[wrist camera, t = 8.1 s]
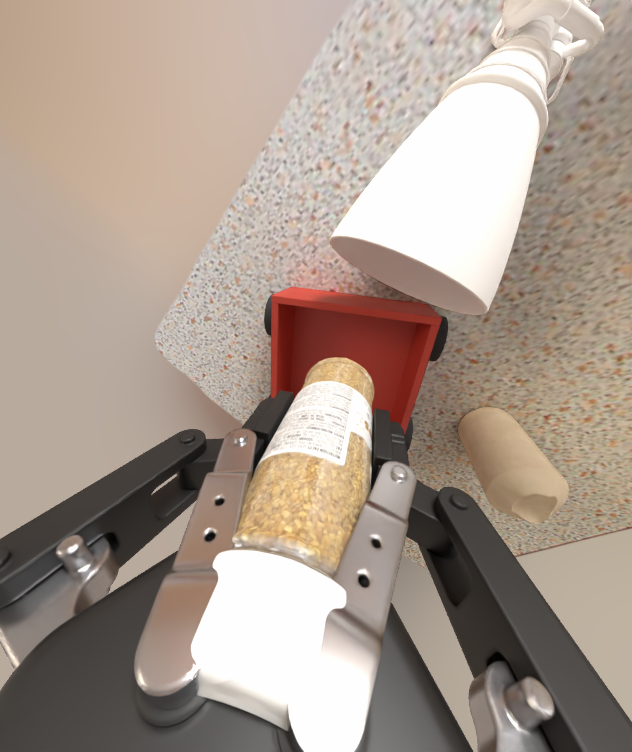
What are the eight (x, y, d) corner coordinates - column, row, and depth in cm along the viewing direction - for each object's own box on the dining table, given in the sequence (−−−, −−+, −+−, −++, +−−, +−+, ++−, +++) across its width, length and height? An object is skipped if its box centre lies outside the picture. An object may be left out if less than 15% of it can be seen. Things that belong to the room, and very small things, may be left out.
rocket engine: (944, -671, 5) (432, 248, 10) (748, -5, 12) (510, 331, 17) (440, -119, 13) (300, 230, 18) (503, 81, 21) (390, 291, 26)
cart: (291, 286, 25) (271, 295, 20) (428, 303, 23) (442, 318, 18) (286, 417, 33) (270, 446, 28) (389, 438, 31) (392, 474, 26)
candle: (512, 446, 28) (575, 536, 19) (457, 448, 29) (492, 531, 21) (517, 404, 26) (590, 483, 17) (457, 408, 27) (496, 482, 18)
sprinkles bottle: (369, 420, 17) (356, 801, 5) (304, 410, 18) (165, 723, 6) (379, 357, 15) (393, 752, 3) (305, 349, 16) (95, 643, 4)
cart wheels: (279, 291, 26) (263, 297, 22) (441, 312, 23) (452, 323, 20) (276, 411, 33) (264, 430, 29) (401, 436, 30) (404, 461, 27)
